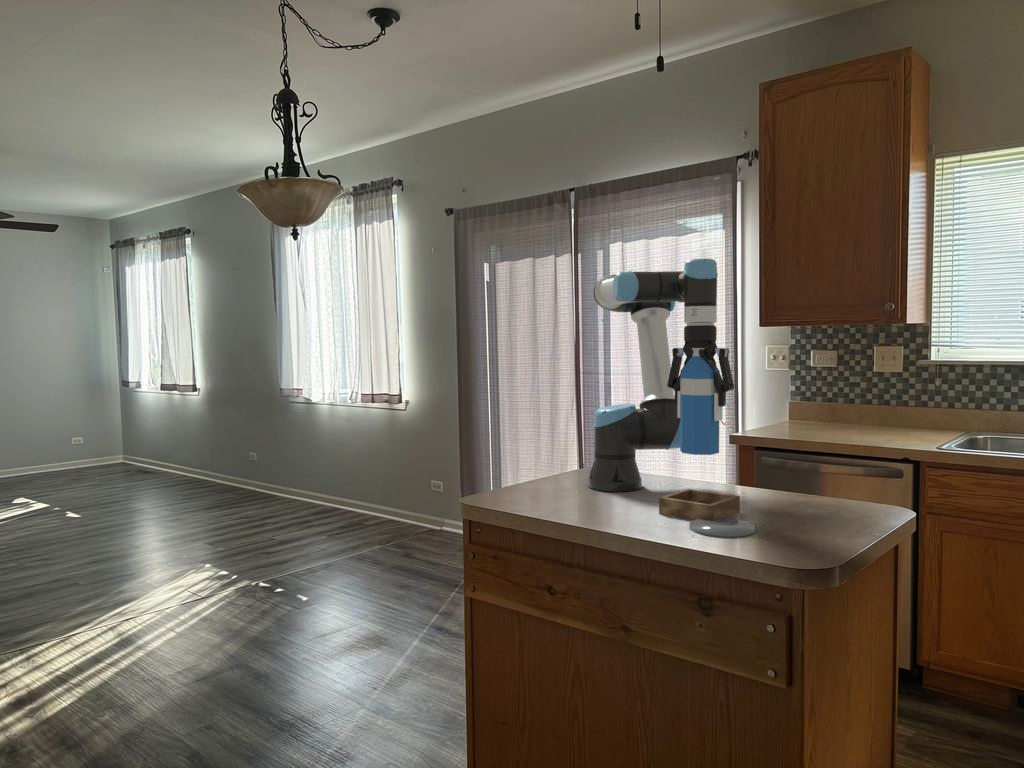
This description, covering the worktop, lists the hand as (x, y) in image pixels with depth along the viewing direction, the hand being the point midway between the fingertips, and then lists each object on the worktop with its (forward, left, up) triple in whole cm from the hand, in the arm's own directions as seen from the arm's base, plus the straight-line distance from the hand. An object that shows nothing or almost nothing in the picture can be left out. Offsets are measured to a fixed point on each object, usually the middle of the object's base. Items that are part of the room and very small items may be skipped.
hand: (699, 418), depth 176 cm
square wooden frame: (0, 0, -23) cm, 23 cm away
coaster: (+11, -10, -23) cm, 27 cm away
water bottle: (0, 0, -8) cm, 8 cm away
